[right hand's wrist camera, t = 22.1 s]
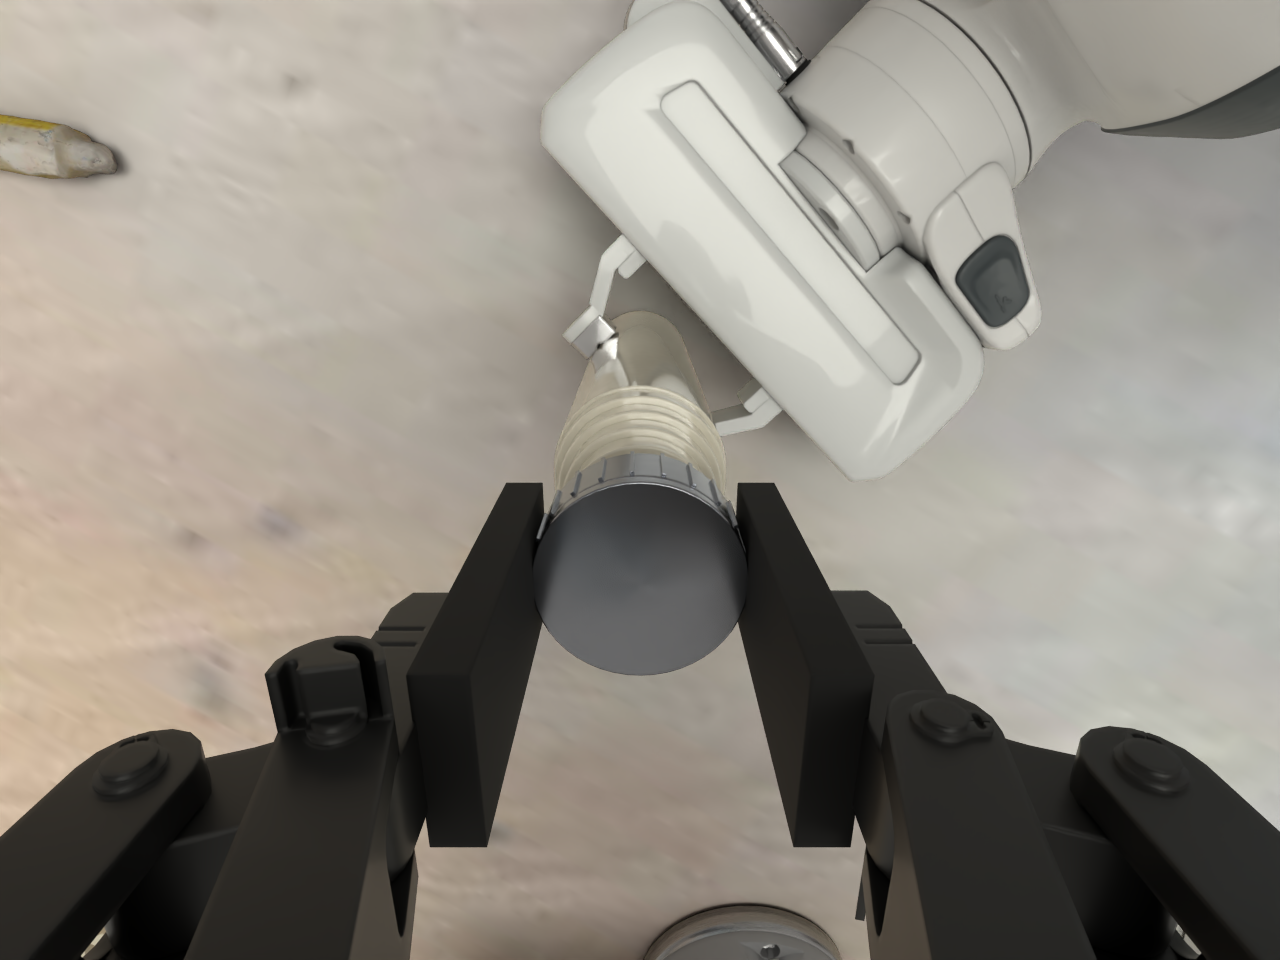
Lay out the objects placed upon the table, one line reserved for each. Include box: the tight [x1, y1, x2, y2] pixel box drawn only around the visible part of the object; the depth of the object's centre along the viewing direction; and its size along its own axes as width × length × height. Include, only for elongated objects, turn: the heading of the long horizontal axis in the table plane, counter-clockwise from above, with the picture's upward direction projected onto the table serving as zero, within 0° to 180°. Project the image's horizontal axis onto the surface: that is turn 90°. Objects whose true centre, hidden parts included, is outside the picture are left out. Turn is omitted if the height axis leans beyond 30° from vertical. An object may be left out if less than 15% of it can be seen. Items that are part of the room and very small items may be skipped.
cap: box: [532, 451, 748, 675], centre depth 14 cm, size 4×4×2 cm
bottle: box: [554, 311, 726, 496], centre depth 25 cm, size 5×5×23 cm
